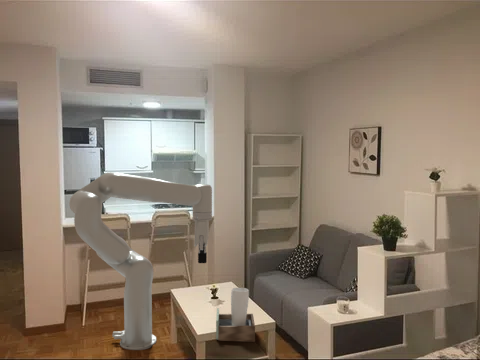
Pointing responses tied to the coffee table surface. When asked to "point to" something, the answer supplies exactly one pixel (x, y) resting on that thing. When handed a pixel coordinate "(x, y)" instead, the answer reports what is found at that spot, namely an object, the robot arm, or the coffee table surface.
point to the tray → (226, 322)
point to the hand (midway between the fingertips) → (202, 262)
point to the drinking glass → (239, 306)
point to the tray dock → (236, 330)
